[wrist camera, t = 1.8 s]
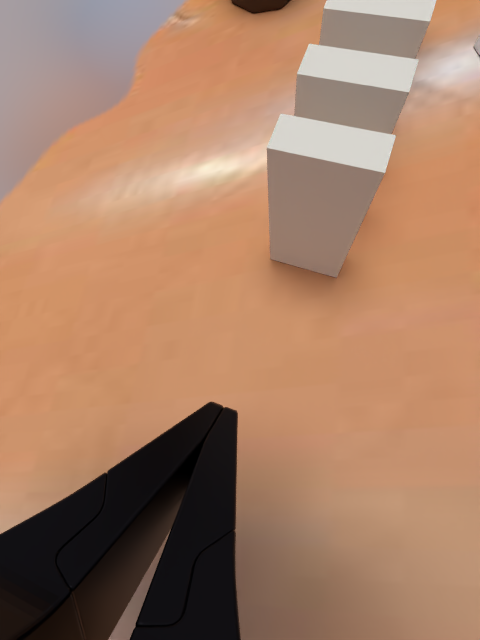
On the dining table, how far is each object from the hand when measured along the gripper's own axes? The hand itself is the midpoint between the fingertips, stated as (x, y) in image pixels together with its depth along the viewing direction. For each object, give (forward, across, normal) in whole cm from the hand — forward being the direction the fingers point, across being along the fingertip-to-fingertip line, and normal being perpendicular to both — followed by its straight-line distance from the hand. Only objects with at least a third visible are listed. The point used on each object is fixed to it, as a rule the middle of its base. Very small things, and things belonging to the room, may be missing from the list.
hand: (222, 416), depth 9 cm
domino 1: (+18, 0, +1) cm, 18 cm away
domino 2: (+21, 0, -2) cm, 21 cm away
